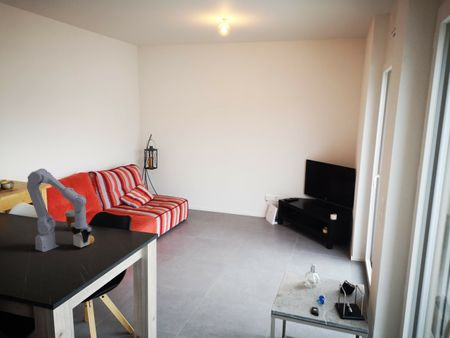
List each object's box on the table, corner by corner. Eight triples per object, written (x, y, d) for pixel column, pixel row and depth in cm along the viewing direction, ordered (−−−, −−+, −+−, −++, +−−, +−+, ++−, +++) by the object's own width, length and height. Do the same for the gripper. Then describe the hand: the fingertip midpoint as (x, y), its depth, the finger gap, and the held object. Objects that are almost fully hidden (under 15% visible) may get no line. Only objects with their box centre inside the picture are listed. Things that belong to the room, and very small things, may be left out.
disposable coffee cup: (78, 232, 217) (77, 214, 215) (63, 232, 217) (62, 213, 215) (84, 227, 226) (83, 209, 224) (70, 226, 226) (69, 209, 224)
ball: (89, 246, 196) (89, 237, 196) (83, 244, 199) (83, 235, 198) (96, 243, 201) (96, 235, 200) (90, 241, 203) (90, 233, 202)
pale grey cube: (80, 247, 191) (80, 237, 190) (73, 245, 194) (73, 234, 193) (89, 243, 196) (89, 233, 195) (82, 241, 199) (82, 231, 198)
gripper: (95, 218, 192) (96, 241, 194) (77, 213, 199) (79, 236, 201) (84, 221, 186) (85, 245, 188) (67, 217, 193) (68, 240, 195)
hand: (81, 241), depth 194 cm, fingers closed on pale grey cube, 6 cm apart
